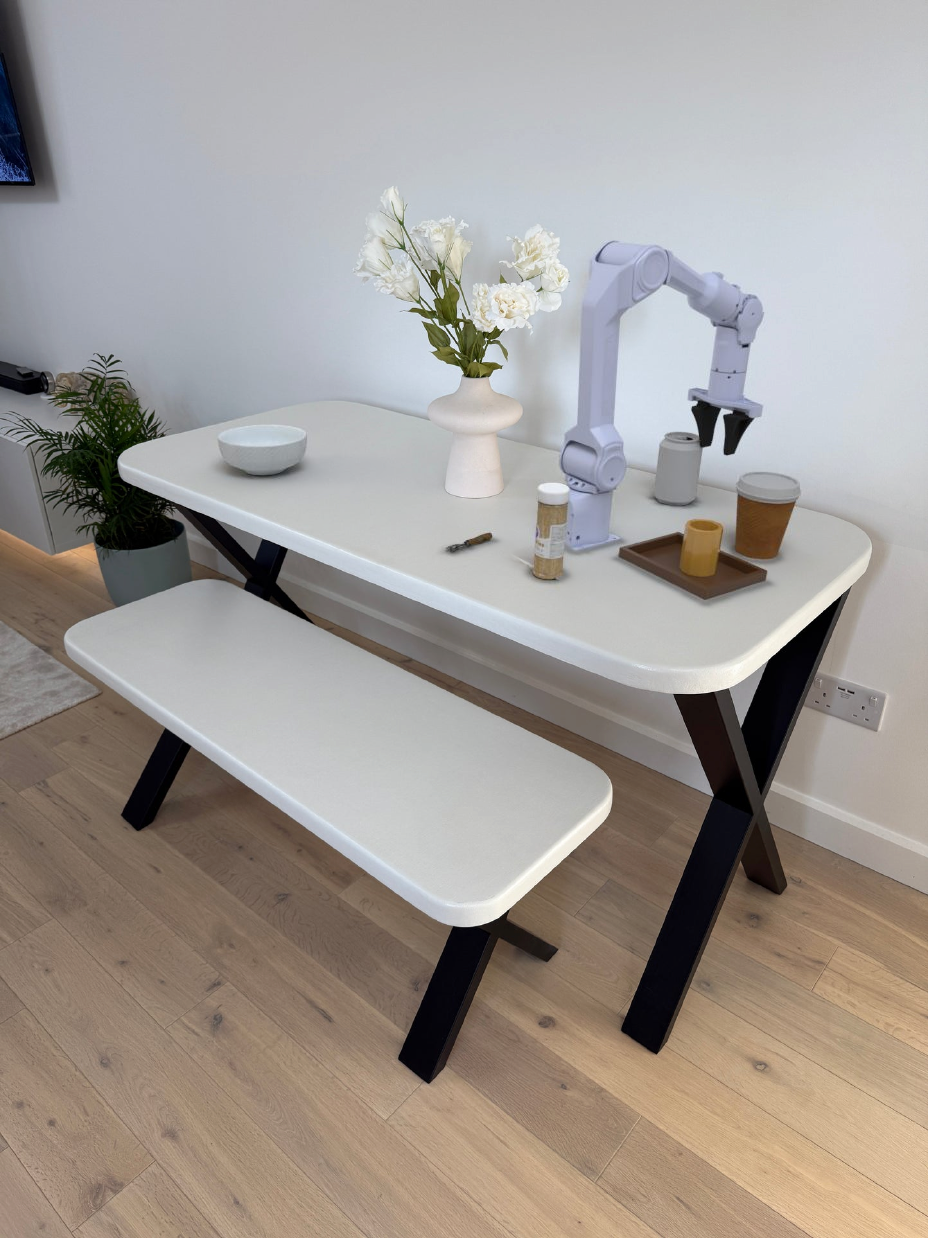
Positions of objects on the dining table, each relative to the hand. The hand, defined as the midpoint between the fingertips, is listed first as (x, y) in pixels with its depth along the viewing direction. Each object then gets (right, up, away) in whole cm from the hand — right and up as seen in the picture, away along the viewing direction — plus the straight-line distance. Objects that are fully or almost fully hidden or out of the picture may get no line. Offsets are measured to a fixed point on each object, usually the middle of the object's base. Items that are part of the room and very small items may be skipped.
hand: (716, 450), depth 147 cm
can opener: (-43, -18, -13) cm, 48 cm away
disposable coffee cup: (+2, -19, -13) cm, 23 cm away
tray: (-10, -22, -20) cm, 31 cm away
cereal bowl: (-83, 0, +20) cm, 85 cm away
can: (-5, -8, +8) cm, 13 cm away
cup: (-9, -22, -21) cm, 31 cm away
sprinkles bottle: (-31, -23, -22) cm, 44 cm away
